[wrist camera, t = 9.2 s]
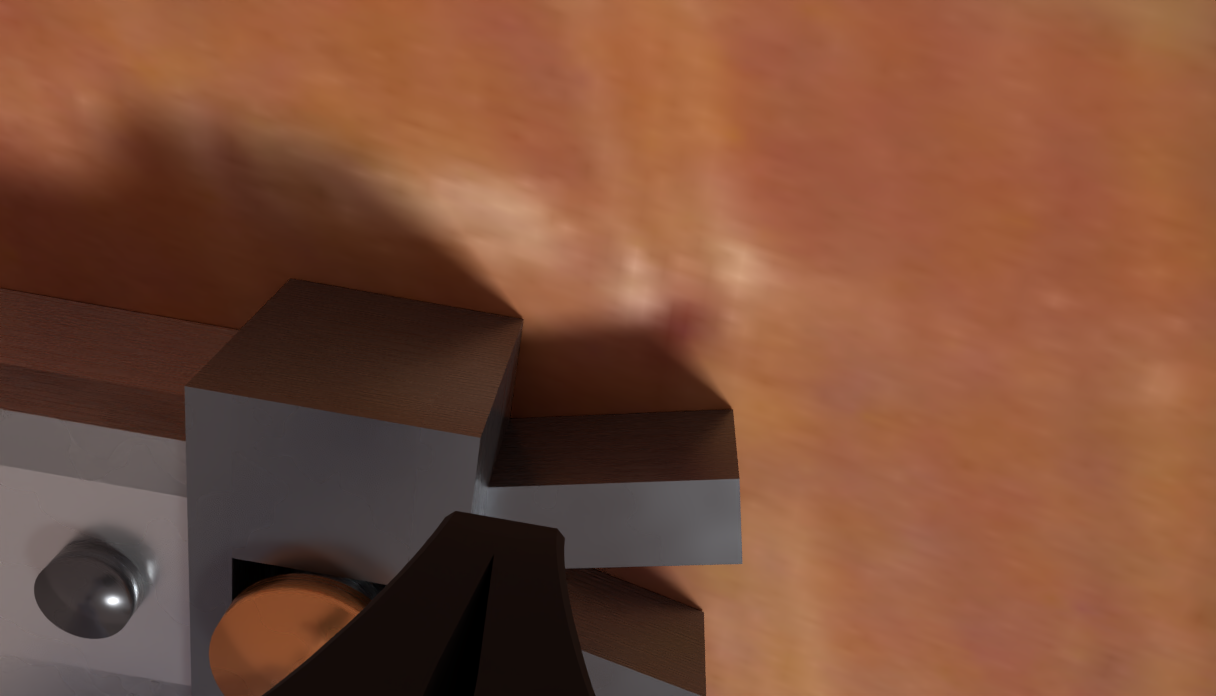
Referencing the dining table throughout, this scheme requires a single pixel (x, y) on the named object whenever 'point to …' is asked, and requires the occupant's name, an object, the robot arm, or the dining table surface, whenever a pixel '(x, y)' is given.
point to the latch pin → (281, 627)
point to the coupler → (442, 473)
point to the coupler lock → (95, 497)
